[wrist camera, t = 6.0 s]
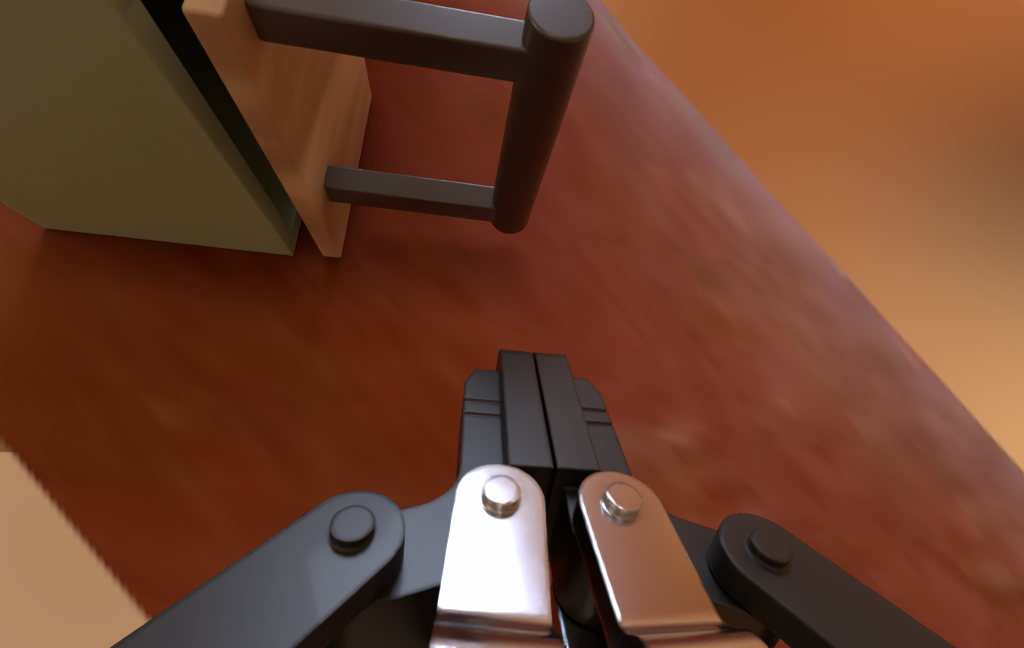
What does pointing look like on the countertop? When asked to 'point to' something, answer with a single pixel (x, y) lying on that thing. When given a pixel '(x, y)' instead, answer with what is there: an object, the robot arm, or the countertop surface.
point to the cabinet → (130, 130)
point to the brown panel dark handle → (346, 95)
